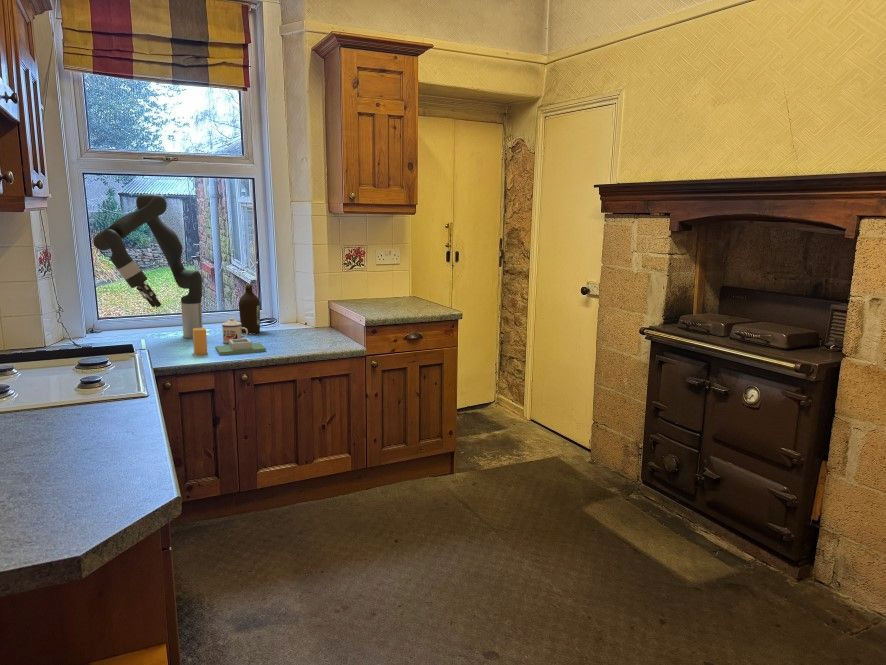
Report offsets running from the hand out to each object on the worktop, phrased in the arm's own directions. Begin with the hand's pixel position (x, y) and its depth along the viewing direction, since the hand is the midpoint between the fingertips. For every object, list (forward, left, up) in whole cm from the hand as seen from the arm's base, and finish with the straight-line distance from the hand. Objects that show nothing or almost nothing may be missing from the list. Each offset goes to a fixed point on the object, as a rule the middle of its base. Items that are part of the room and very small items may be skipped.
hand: (157, 306), depth 258 cm
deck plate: (+1, +33, -22) cm, 40 cm away
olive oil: (-38, +45, -22) cm, 63 cm away
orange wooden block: (-1, +16, -22) cm, 28 cm away
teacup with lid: (-18, +34, -22) cm, 45 cm away
